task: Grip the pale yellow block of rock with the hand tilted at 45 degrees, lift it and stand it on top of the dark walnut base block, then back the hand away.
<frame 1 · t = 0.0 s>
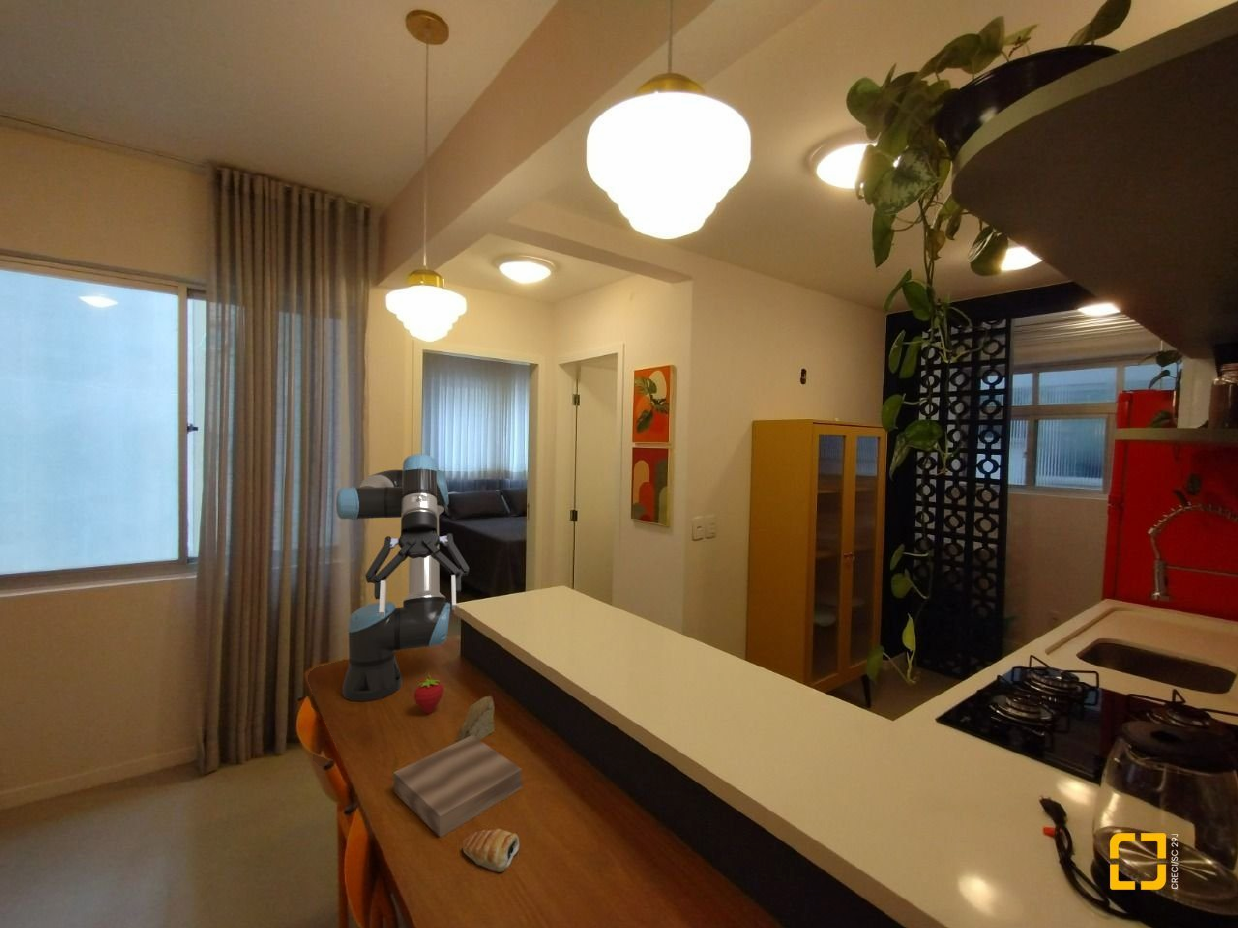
hand: (418, 610, 106), 36 cm above the table, tool tilted 35°, fingers open, 13 cm apart
walnut base: (458, 789, 106), on the table
pastry: (492, 857, 89), on the table
rock: (475, 737, 125), on the table
strawberry: (429, 713, 135), on the table
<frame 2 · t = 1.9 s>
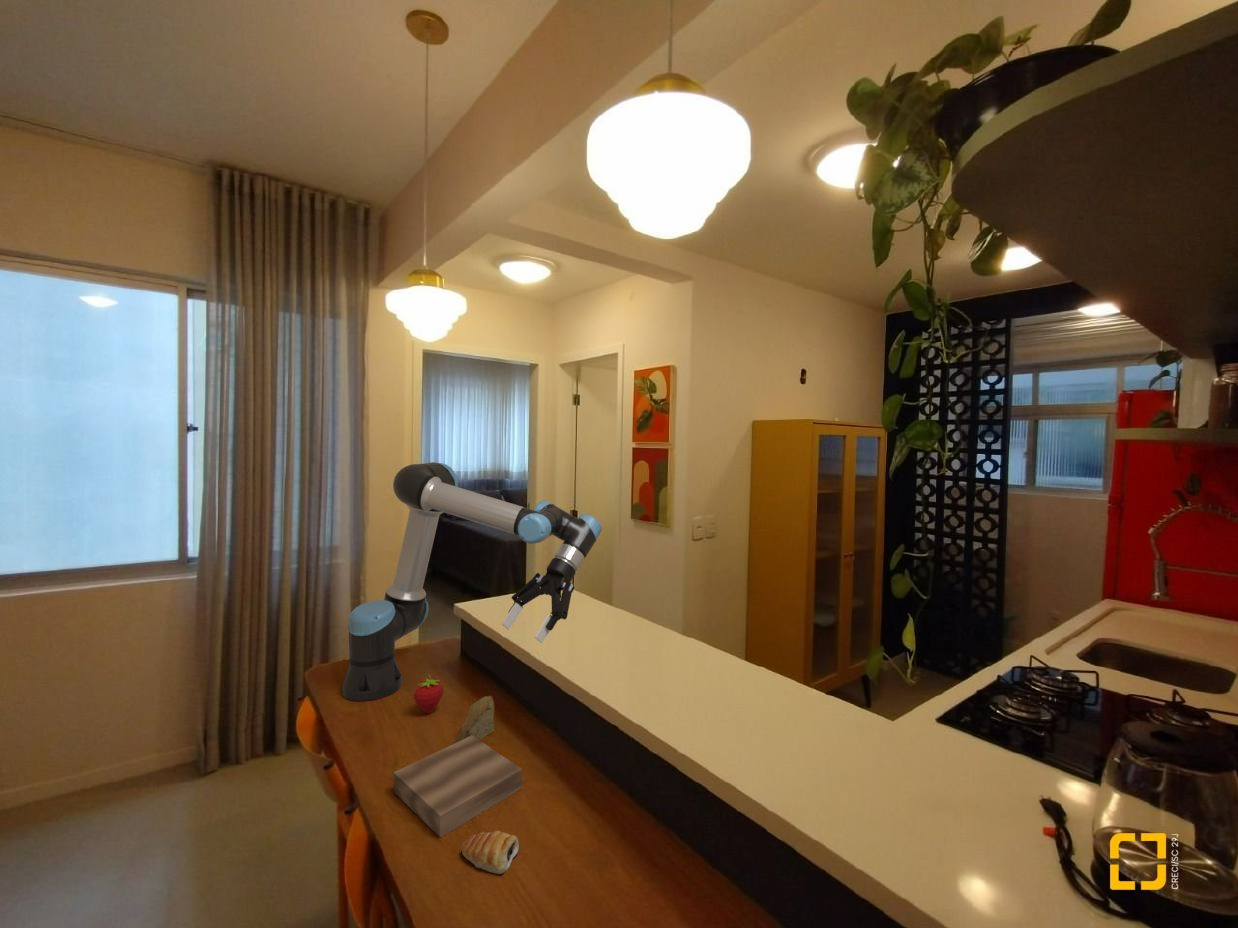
hand: (521, 633, 134), 21 cm above the table, tool tilted 45°, fingers open, 13 cm apart
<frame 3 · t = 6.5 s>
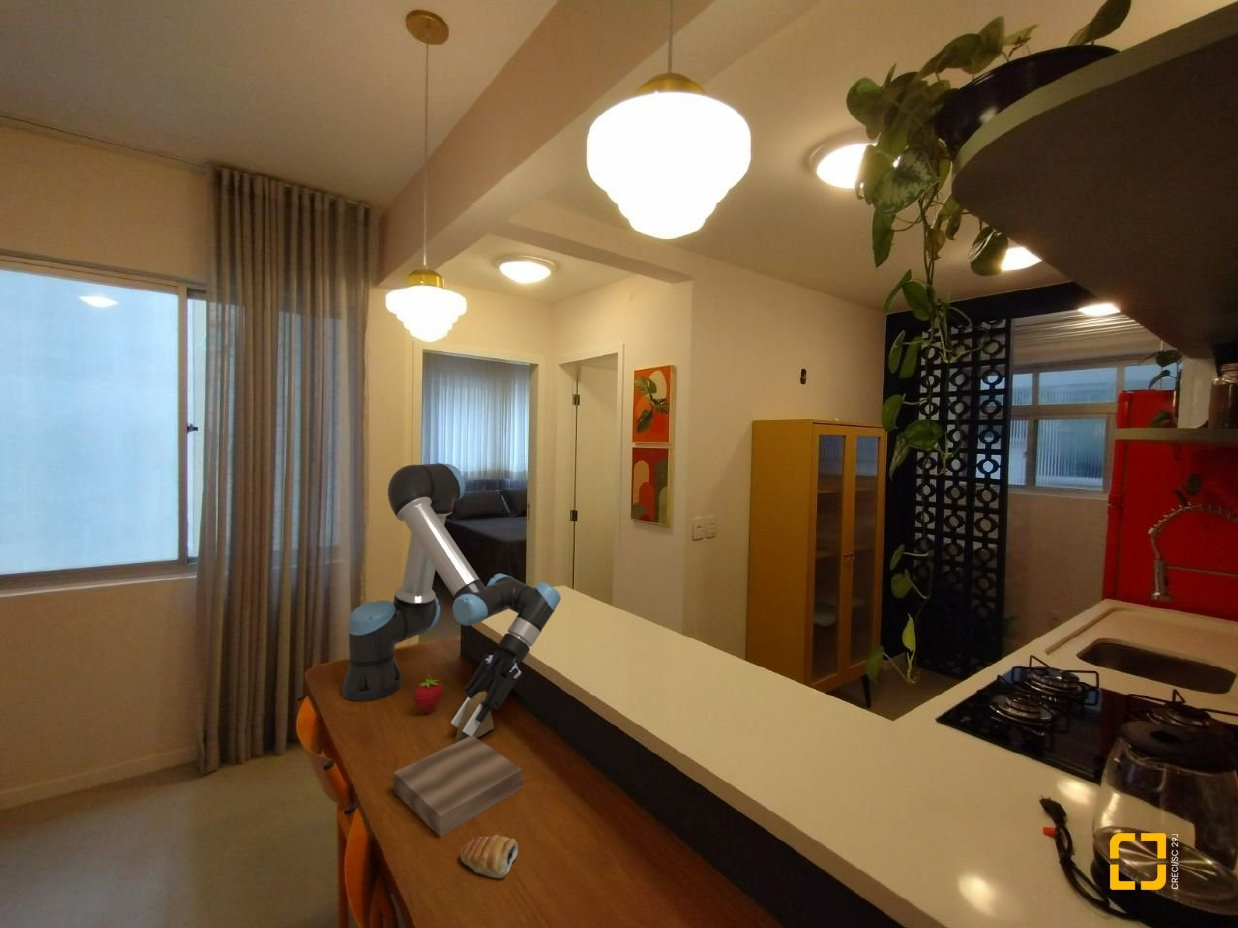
hand: (461, 729, 122), 3 cm above the table, tool tilted 45°, fingers closed on rock, 4 cm apart
rock: (475, 736, 125), on the table, touching gripper
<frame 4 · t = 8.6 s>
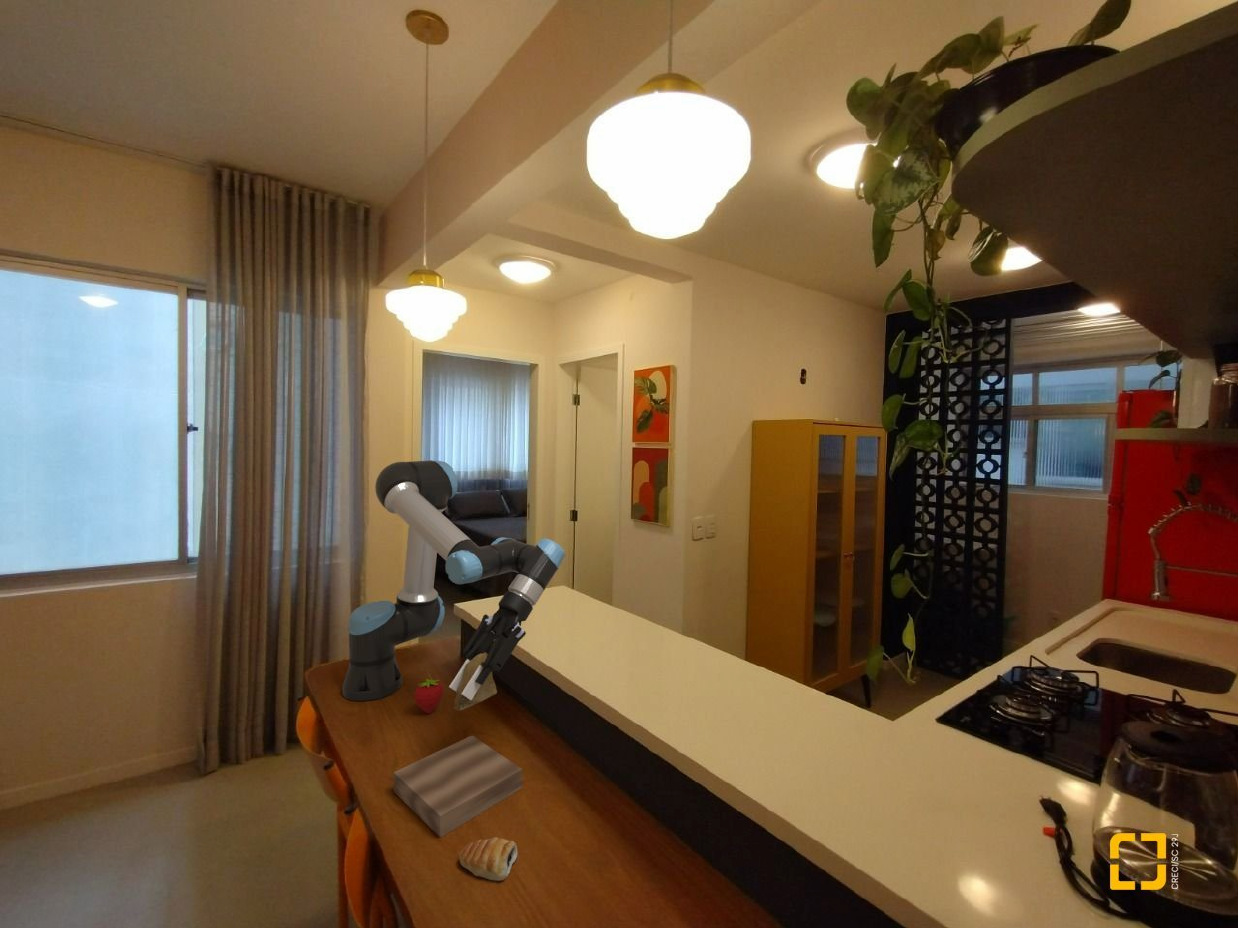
hand: (460, 693, 112), 17 cm above the table, tool tilted 45°, fingers closed on rock, 4 cm apart
rock: (476, 701, 115), point 13 cm above the table, touching gripper
when the fingers open (9 cm above the table, at t = 10.8 s): rock drops 1 cm, resting on walnut base.
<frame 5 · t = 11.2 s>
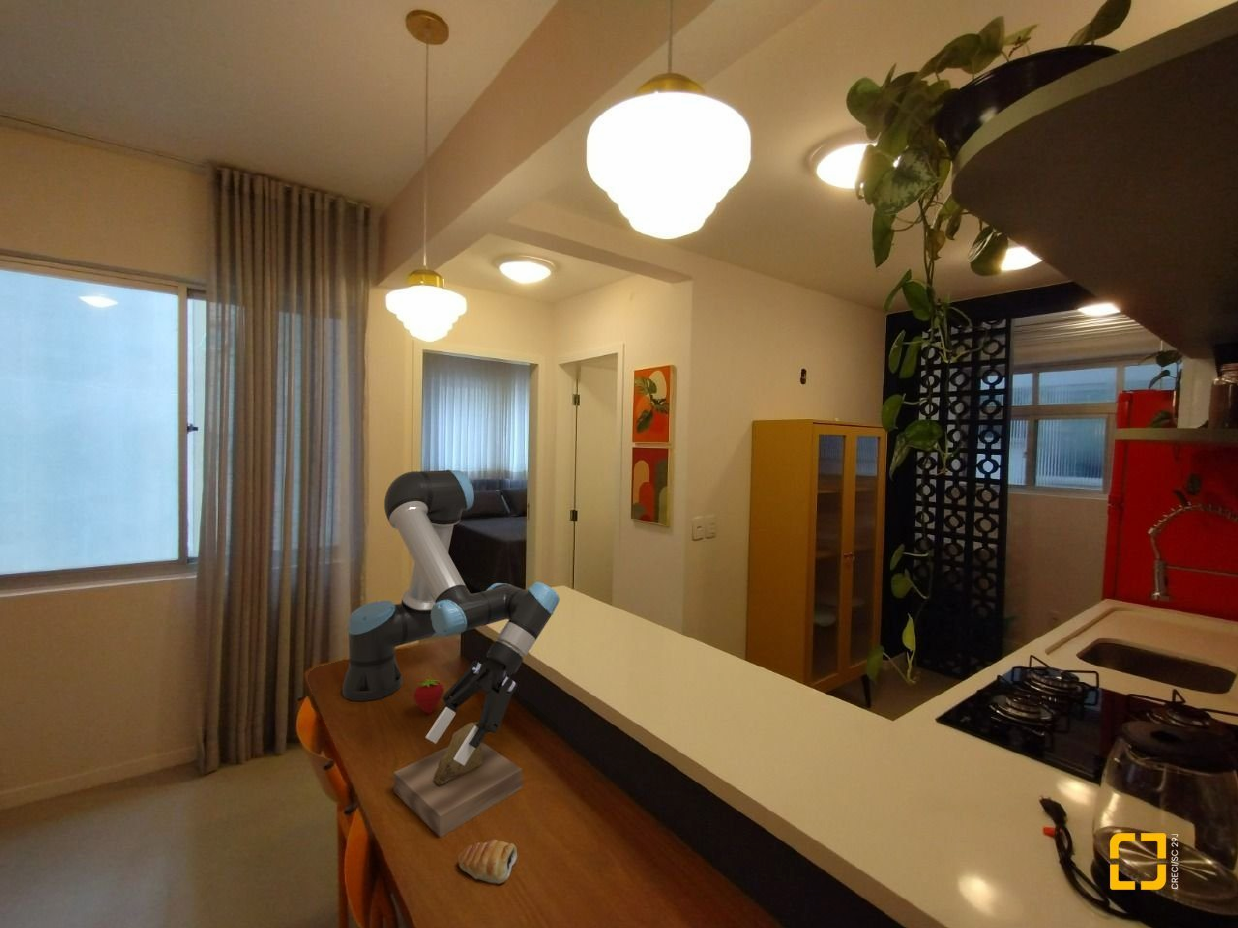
hand: (444, 750, 103), 9 cm above the table, tool tilted 45°, fingers open, 10 cm apart
rock: (459, 771, 106), point 4 cm above the table, touching walnut base
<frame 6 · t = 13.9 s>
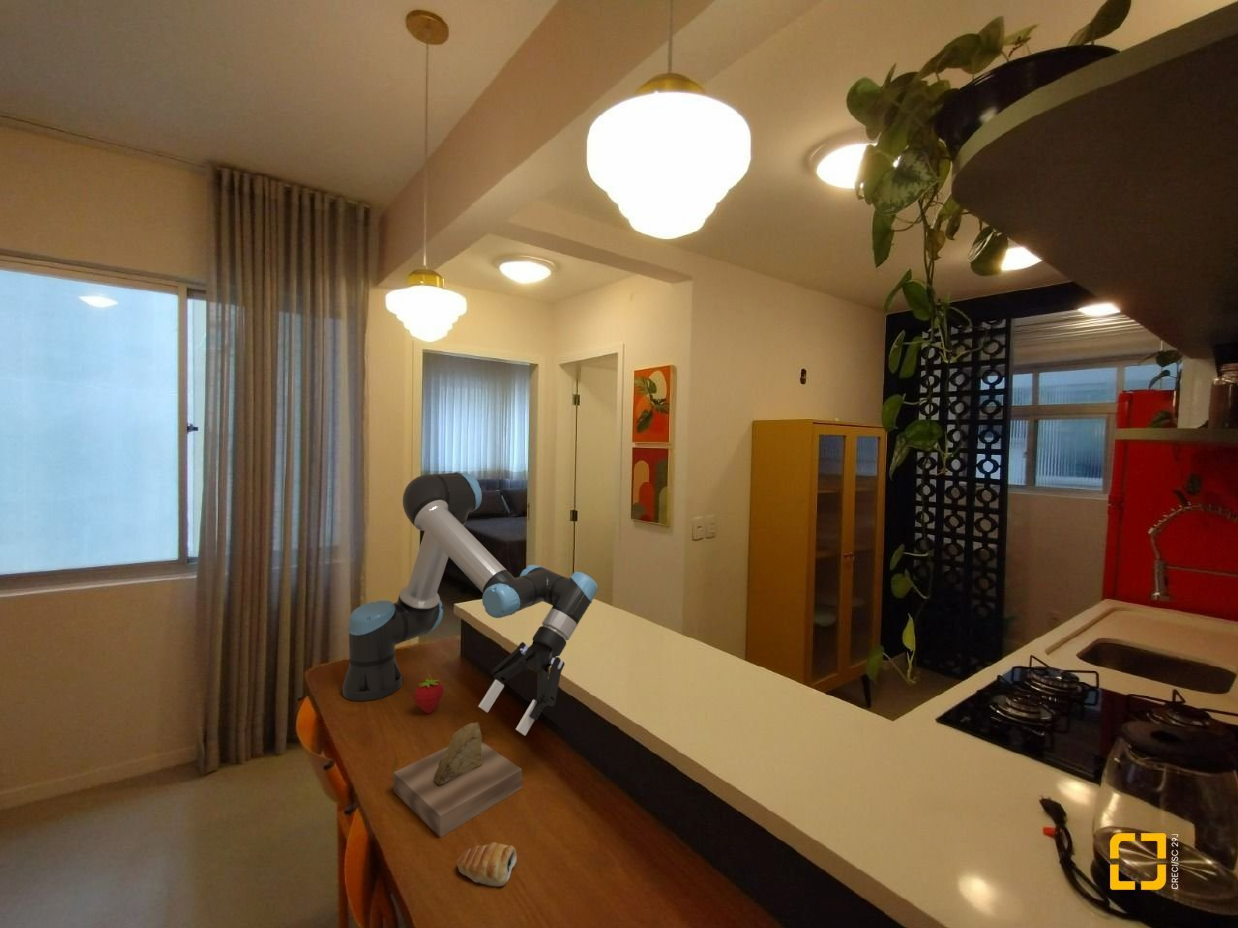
hand: (500, 720, 113), 10 cm above the table, tool tilted 45°, fingers open, 13 cm apart
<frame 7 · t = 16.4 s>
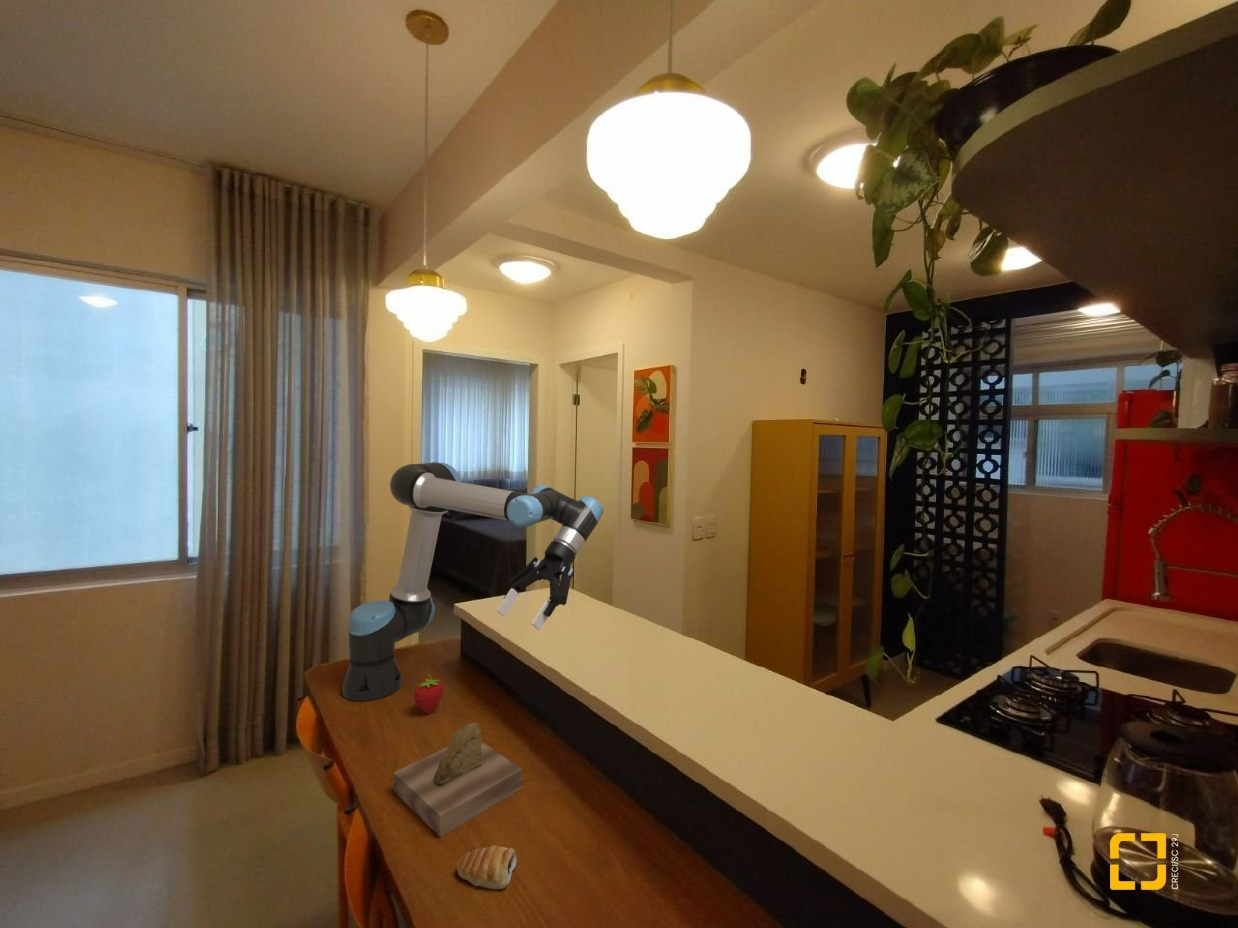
hand: (517, 620, 125), 28 cm above the table, tool tilted 45°, fingers open, 13 cm apart
at the end: rock inside the target area on the walnut base (0.2 cm from its centre), point 3.8 cm above the walnut base's base; rock tilted 0°; the gripper is holding nothing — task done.
